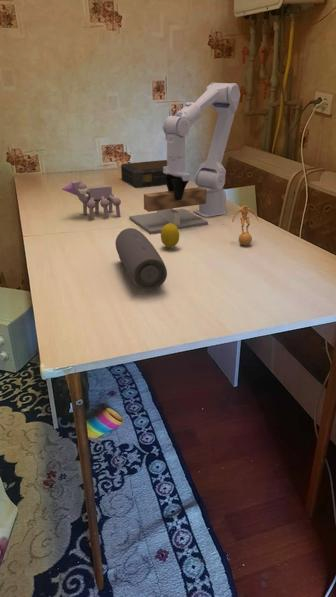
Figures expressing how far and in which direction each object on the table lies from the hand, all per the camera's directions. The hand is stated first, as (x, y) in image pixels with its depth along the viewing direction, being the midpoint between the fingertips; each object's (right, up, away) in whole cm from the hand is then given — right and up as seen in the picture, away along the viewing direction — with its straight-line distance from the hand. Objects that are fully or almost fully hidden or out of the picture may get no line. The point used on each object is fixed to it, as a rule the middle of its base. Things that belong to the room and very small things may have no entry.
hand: (175, 198), depth 147 cm
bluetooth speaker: (-10, -28, -32) cm, 44 cm away
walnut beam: (0, -2, +1) cm, 3 cm away
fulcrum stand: (-3, -7, +8) cm, 10 cm away
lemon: (-2, -19, -15) cm, 24 cm away
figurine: (+21, -17, -11) cm, 29 cm away
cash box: (-10, +22, +63) cm, 68 cm away
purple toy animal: (-30, -4, +13) cm, 33 cm away
